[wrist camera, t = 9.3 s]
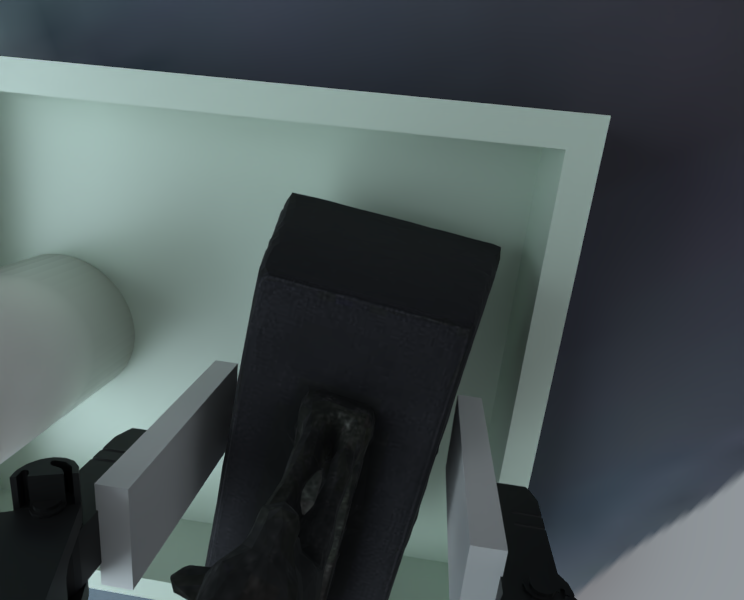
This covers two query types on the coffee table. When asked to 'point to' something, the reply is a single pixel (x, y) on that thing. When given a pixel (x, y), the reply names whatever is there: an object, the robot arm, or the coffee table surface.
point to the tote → (255, 228)
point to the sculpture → (339, 403)
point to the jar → (56, 342)
